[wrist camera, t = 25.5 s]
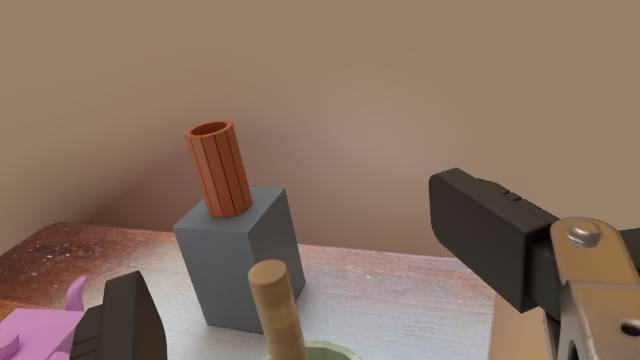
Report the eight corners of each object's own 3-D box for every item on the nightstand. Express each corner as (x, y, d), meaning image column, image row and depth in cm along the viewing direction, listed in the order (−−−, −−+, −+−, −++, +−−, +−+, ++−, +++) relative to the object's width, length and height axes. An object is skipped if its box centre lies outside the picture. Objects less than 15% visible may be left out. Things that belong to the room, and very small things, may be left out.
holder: (305, 282, 50) (268, 111, 41) (275, 336, 44) (223, 146, 35) (243, 275, 53) (196, 114, 44) (206, 324, 47) (143, 146, 38)
